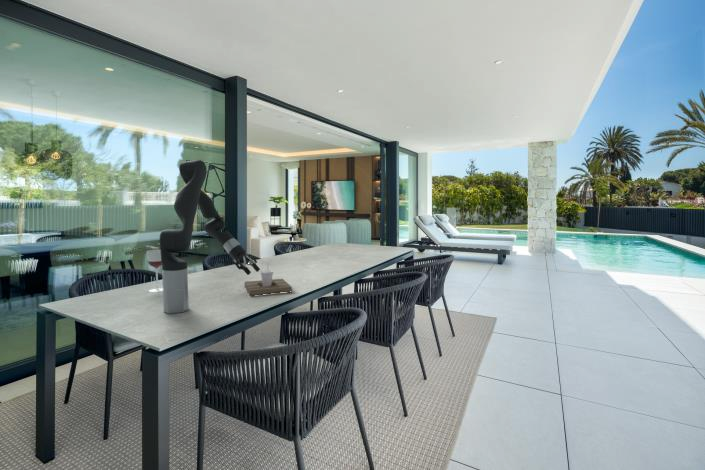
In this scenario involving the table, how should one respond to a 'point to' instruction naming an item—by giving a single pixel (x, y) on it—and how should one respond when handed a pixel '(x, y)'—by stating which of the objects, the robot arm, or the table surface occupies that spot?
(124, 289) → the table surface
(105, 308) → the table surface
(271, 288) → the caddy
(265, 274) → the smoothie
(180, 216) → the robot arm
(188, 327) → the table surface
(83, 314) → the table surface
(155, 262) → the wineglass
